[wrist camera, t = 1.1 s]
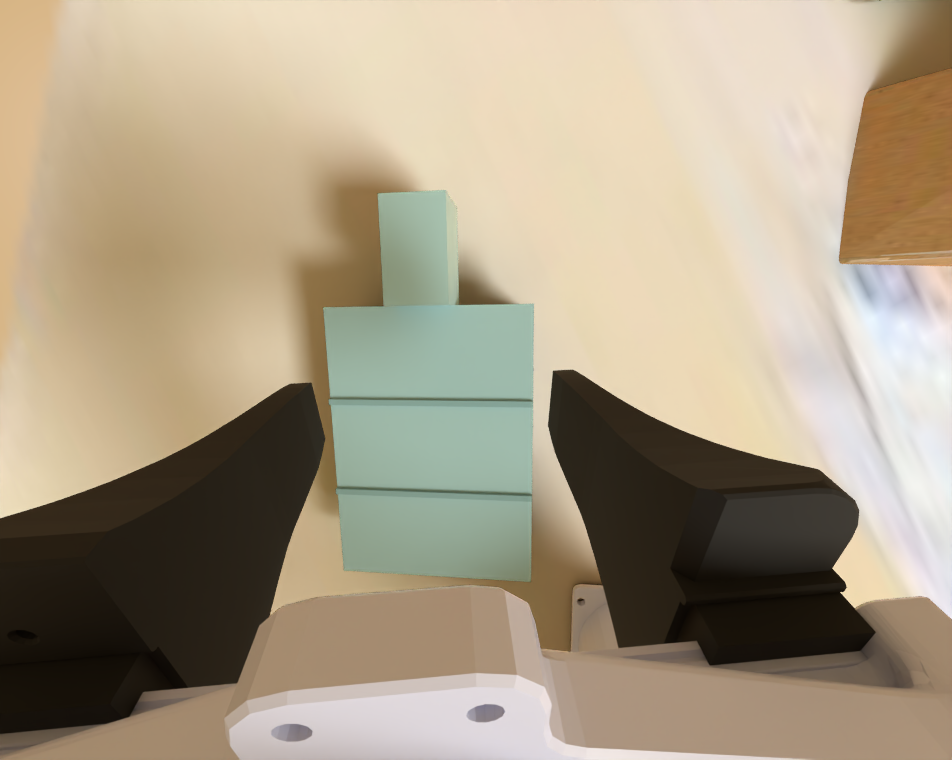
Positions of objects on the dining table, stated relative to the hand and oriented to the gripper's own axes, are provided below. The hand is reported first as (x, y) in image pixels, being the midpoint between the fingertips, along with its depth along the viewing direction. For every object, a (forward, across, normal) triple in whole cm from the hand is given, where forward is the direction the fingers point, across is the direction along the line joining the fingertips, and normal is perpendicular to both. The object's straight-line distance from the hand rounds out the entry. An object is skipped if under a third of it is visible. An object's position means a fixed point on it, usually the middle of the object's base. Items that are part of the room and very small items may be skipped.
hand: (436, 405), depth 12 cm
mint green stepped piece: (+8, +1, +5) cm, 10 cm away
